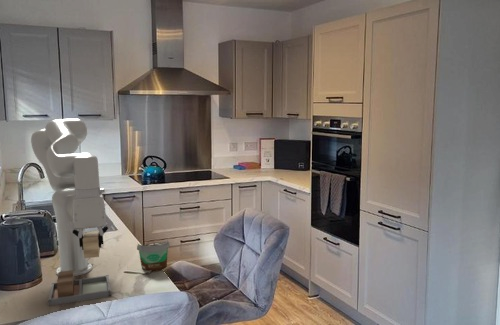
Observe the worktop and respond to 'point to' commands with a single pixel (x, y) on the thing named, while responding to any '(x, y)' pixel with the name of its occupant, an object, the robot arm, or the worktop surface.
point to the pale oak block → (91, 244)
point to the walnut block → (65, 284)
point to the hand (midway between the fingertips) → (91, 247)
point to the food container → (153, 256)
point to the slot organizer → (91, 290)
